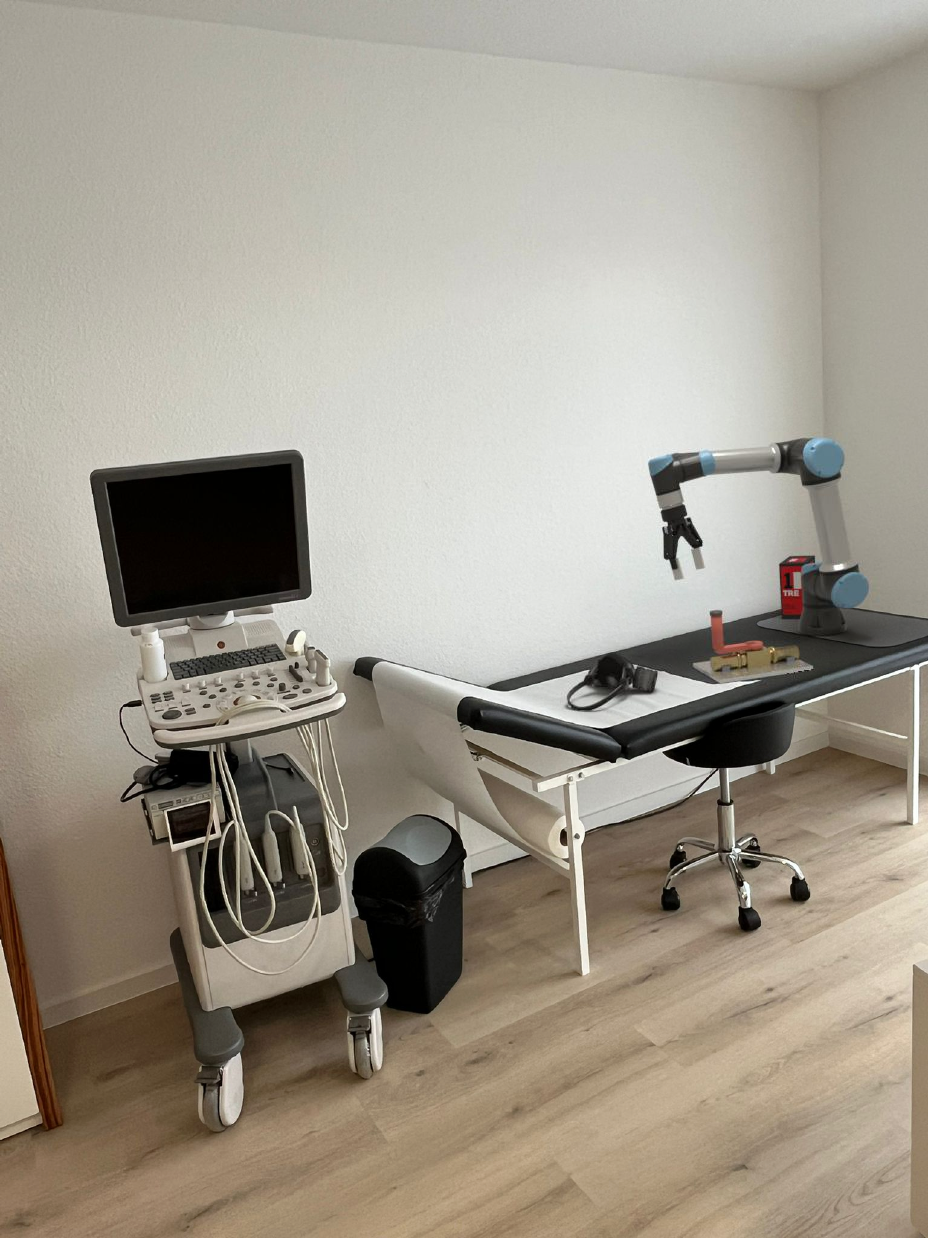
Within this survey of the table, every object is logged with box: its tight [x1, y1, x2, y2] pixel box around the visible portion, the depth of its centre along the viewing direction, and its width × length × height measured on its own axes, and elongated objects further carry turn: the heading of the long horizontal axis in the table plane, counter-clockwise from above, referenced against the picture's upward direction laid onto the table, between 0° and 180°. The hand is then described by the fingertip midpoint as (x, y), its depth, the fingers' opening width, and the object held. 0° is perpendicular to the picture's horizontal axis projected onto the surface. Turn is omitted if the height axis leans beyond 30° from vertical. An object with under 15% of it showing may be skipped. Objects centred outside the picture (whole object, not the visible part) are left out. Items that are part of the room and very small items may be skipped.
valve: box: [692, 644, 814, 684], centre depth 289 cm, size 28×21×6 cm
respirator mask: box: [566, 652, 659, 711], centre depth 278 cm, size 22×24×17 cm
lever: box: [709, 609, 764, 655], centre depth 286 cm, size 15×5×12 cm, turn 98°
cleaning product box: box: [778, 554, 816, 620], centre depth 351 cm, size 16×9×20 cm, turn 149°
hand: (690, 574), depth 297 cm, fingers open, 13 cm apart
